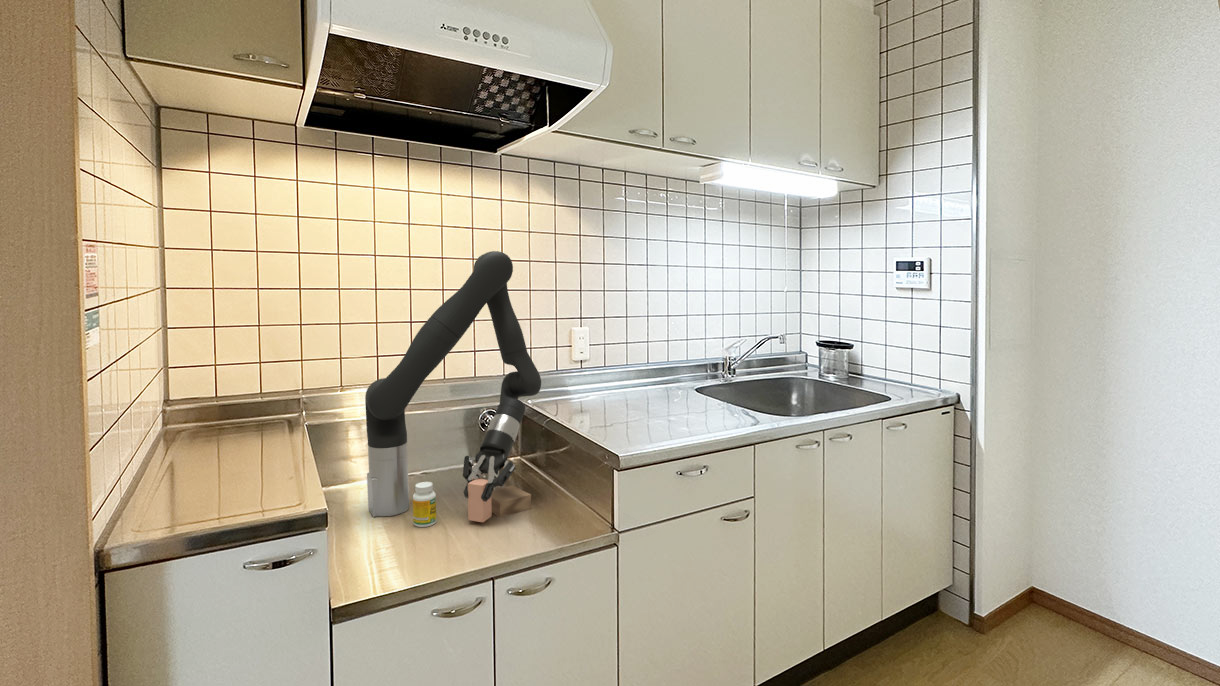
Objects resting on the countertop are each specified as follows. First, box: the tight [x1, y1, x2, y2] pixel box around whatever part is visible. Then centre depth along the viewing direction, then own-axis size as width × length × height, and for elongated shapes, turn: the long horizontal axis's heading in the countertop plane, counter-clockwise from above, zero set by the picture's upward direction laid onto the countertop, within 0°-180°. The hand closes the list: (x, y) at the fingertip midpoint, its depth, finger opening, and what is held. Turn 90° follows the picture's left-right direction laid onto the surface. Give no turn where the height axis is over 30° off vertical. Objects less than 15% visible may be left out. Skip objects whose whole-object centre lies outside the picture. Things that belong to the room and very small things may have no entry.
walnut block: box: [491, 484, 532, 518], centre depth 152 cm, size 9×9×4 cm
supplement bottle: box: [412, 481, 437, 528], centre depth 141 cm, size 5×5×10 cm
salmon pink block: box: [467, 478, 493, 523], centre depth 142 cm, size 4×4×9 cm
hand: (475, 498), depth 140 cm, fingers closed on salmon pink block, 4 cm apart
